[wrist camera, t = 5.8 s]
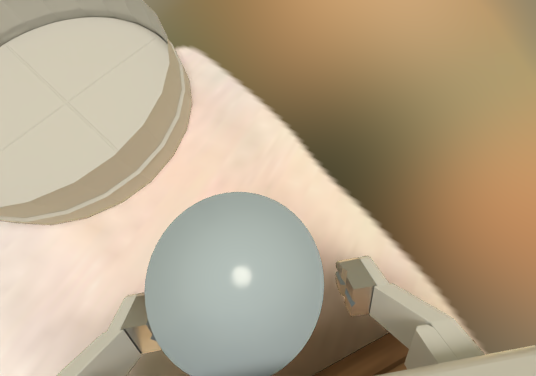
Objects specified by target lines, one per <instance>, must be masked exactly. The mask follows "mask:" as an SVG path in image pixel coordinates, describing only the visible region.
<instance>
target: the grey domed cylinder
mask: <svg viewBox="0 0 536 376" xmlns="http://www.w3.org/2000/svg"><path fill="white" fill-rule="evenodd" d="M323 293H324V274H323V268H322V262H321V258H320V255H319V251H318V249H317V246H316V244H315V242H314V240H313V238H312V236H311V234H310V233H309V231H308V229H307V228H306V227H305V225H304V224H303V223H302V221H301V220H300V219H299V218H298V217H297V216H296V215H295V214H294V213H293V212H291V211H290V210H289V209H288V208H286V207H285V206H283V205H282V204H280V203H278V202H277V201H275V200H272V199H270V198H268V197H265V196H262V195H258V194H253V193H247V192H231V193H223V194H219V195H215V196H212V197H209V198H206V199H204V200H202V201H200V202H198V203H196V204H194V205H193V206H191V207H189V208H188V209H186V210H185V211H184V212H183V213H182V214H180V215H179V216H178V217H177V218H176V219H175V220H174V221H173V222H172V223H171V224H170V225H169V227H168V228H167V229H166V231H165V232H164V233H163V235H162V236H161V238H160V240H159V241H158V243H157V245H156V247H155V249H154V251H153V254H152V256H151V259H150V262H149V266H148V269H147V275H146V280H145V307H146V312H147V318H148V321H149V324H150V327H151V330H152V333H153V335H154V337H155V339H156V341H157V343H158V344H159V346H160V348H161V349H162V351H163V352H164V354H165V355H166V356H167V357H168V358H169V359H170V360H171V361H172V362H173V363H174V364H175V365H176V366H177V367H178V368H180V369H181V370H182V371H183V372H185V373H187V374H188V375H190V376H272V375H273V374H275V373H276V372H278V371H279V370H281V369H283V368H284V367H285V366H286V365H287V364H288V363H290V362H291V361H292V360H293V359H294V358H295V357H296V356H297V355H298V353H299V352H300V351H301V350H302V349H303V347H304V346H305V344H306V343H307V341H308V340H309V338H310V336H311V334H312V332H313V330H314V328H315V326H316V324H317V321H318V318H319V315H320V312H321V307H322V302H323Z"/></svg>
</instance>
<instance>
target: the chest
mask: <svg viewBox="0 0 536 376" xmlns="http://www.w3.org/2000/svg"><path fill="white" fill-rule="evenodd" d="M473 341H474V340H473ZM474 343H475V342H474ZM475 344H476V343H475ZM408 351H409V349H408V348H407V347H406V346H405V345H404V344H403V343H401V342H400V341H399V340H398V339H397V338H396V337H394V336H393V335H392V334H391V333H388V334H387V335H385V336H383V337H381V338H379V339H378V340H376V341H374V342H372V343H370V344H369V345H367V346H365V347H363V348H361V349H360V350H358V351H356V352H354V353H352V354H351V355H349V356H347V357H345V358H343V359H342V360H340V361H338V362H336V363H334V364H333V365H331V366H329V367H327V368H325V369H324V370H322V371H320V372H318V373H316V374H315V375H313V376H375V375H381V374H386V373H391V372H396V371H402V370H407V368H406V366H405V364H404V363H405V360H406V357H407V354H408Z"/></svg>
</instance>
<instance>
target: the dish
mask: <svg viewBox="0 0 536 376" xmlns="http://www.w3.org/2000/svg"><path fill="white" fill-rule="evenodd" d="M191 107H192V99H191V90H190V82H189V79H188V76H187V74H186V72H185V70H184V67H183V65H182V63H181V61H180V59H179V57H178V55H177V53H176V51H175V49H174V47H173V45H172V43H171V42H170V41H169V40H168V37H167V35H166V33H165V31H164V29H163V27H162V25H161V23H160V21H159V18H158V17H157V14H156V13H155V12H154V11H153V10H152V9H151V8H150V7H149V6H148V5H147V4H146V3H145V2H144V1H142V0H0V221H6V222H13V223H25V224H41V225H54V224H59V223H64V222H70V221H75V220H80V219H85V218H89V217H91V216H93V215H95V214H98V213H100V212H102V211H104V210H107V209H109V208H111V207H113V206H116V205H118V204H120V203H122V202H124V201H125V200H126V199H128V198H129V197H131V196H132V195H133V194H135V193H136V192H137V191H139V190H140V189H142V188H143V187H144V186H146V185H147V184H148V183H150V182H151V181H152V180H153V179H154V178H155V177H156V175H157V174H158V173H159V172H160V171H161V170H162V169H163V167H164V166H165V165H166V164H167V163H168V162H169V160H170V159H171V158H172V157H173V156H174V154H175V152H176V150H177V148H178V146H179V144H180V142H181V140H182V138H183V136H184V134H185V132H186V130H187V127H188V122H189V117H190V112H191Z"/></svg>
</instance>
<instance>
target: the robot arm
mask: <svg viewBox="0 0 536 376" xmlns="http://www.w3.org/2000/svg"><path fill="white" fill-rule="evenodd" d="M336 268H337V270H338V271H337V272H336V284H337V287H338V290H339V292H340V294H341V295H342V296H344V297H345V300H344V303H345V305H346V308H347V310H348V312H349V314H350V316H351V317H352V316H359V315H365V314H369V315H370V316H371V317H372V318H374V319H375V320H376V321H377V322H378V323H379V324H380V325H382V326H383V327H384V328H385V329H386V330H387V331H389V332H390V333H391V334H392V335H393V336H394V337H396V338H397V339H398V340H399V341H400V342H401V343H403V344H404V345H405V346H406V347H407V348H408V349H409V351H408V354H407V357H406V360H405V363H404V364H405V366H406V368H407V370H402V371H396V372H391V373H386V374H381V375H375V376H536V345H534V346H529V347H523V348H518V349H513V350H507V351H502V352H496V353H491V354H486V355H485V354H484V353H483V352H482V351H481V349H480V348H479V347H478V346H477V345H476V344H475V343H474V341H473V340H472V339H471V338H470V337H469V336H468V335H467V333H466V332H465V331H464V330H463V329H462V328H461V327H460V325H459V324H458V323H457V322H456V321H455V320H454V319H453V318H452V317H450V316H448V315H446V314H445V313H443V312H441V311H440V310H438V309H436V308H434V307H433V306H431V305H429V304H427V303H426V302H424V301H422V300H421V299H419V298H417V297H415V296H414V295H412V294H410V293H408V292H407V291H405V290H403V289H402V288H400V287H398V286H396V285H395V284H393V283H392V284H389V282H388V281H387V280H386V278H385V277H384V276H383V274H382V273H381V271H380V270H379V269H378V267H377V266H376V264H375V263H374V262H373V260H372V259H371V257H369V256H363V257H358V258H351V259H345V260H340V261H337V262H336ZM159 350H162V349H161V348H160V346H159V344H158V343H157V341H156V339H155V337H154V335H153V333H152V330H151V327H150V324H149V321H148V318H147V312H146V307H145V293H139V294H132V295H128V296H126V297H125V298H124V300H123V302H122V304H121V306H120V308H119V310H118V311H117V313H116V315H115V317H114V319H113V321H112V323H111V325H110V327H109V328H108V330H107V332H105V333H102V334H101V335H100V336H99V337H98V338H97V339H96V340H95V341H94V342H92V343H91V344H90V345H89V346H88V347H87V348H86V349H85V350H84V351H83V352H81V353H80V354H79V355H78V356H77V357H76V358H75V359H74V360H73V361H72V362H71V363H69V364H68V365H67V366H66V367H65V368H64V369H63V370H62V371H61V372H60V373H58V374H57V375H56V376H126V375H127V374H128V373H129V371H130V370H131V369H132V367H133V366H134V365H135V363H136V362H137V361H138V360H139V358H140V357H141V354H145V353H150V352H155V351H159Z"/></svg>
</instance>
